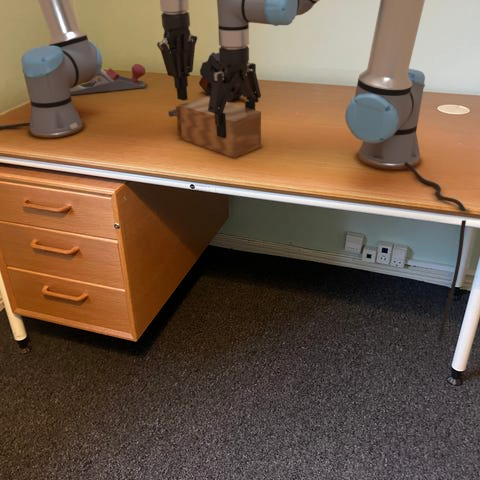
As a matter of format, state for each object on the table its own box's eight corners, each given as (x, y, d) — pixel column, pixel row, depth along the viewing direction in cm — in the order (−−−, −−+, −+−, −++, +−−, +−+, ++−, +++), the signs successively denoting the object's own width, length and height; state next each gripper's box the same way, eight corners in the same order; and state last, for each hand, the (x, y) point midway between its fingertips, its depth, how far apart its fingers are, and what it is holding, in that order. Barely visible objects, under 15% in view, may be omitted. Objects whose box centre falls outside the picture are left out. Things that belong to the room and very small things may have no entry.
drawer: (165, 129, 158) (162, 102, 154) (188, 121, 164) (186, 95, 160) (227, 151, 143) (226, 121, 139) (250, 141, 149) (250, 112, 144)
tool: (204, 81, 194) (218, 46, 183) (240, 115, 190) (257, 82, 179) (193, 84, 190) (206, 49, 179) (229, 120, 186) (245, 86, 175)
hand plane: (62, 90, 197) (53, 48, 189) (145, 82, 205) (140, 41, 197) (62, 96, 191) (54, 53, 184) (148, 87, 199) (143, 45, 191)
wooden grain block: (181, 139, 154) (178, 105, 149) (207, 129, 160) (205, 96, 155) (235, 158, 141) (234, 121, 136) (260, 146, 148) (261, 111, 142)
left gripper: (183, 7, 148) (190, 91, 161) (147, 14, 141) (156, 102, 153) (202, 9, 144) (207, 96, 156) (165, 16, 136) (174, 107, 148)
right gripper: (253, 36, 142) (253, 116, 154) (189, 52, 128) (195, 139, 140) (275, 40, 138) (273, 122, 149) (211, 57, 123) (215, 146, 135)
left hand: (182, 99), depth 155 cm, fingers closed
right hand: (236, 130), depth 144 cm, fingers closed on wooden grain block, 10 cm apart
